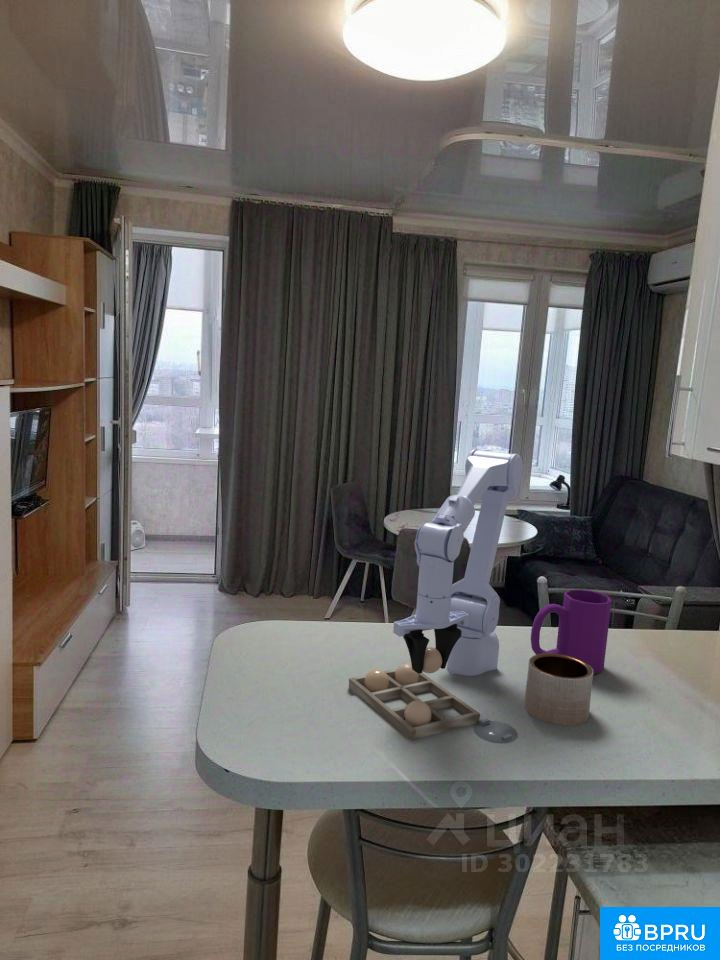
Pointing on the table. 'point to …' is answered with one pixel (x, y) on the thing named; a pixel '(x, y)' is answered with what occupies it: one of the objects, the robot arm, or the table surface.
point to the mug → (578, 627)
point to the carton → (408, 695)
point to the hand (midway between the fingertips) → (428, 668)
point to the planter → (558, 689)
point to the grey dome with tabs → (495, 731)
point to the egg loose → (432, 660)
